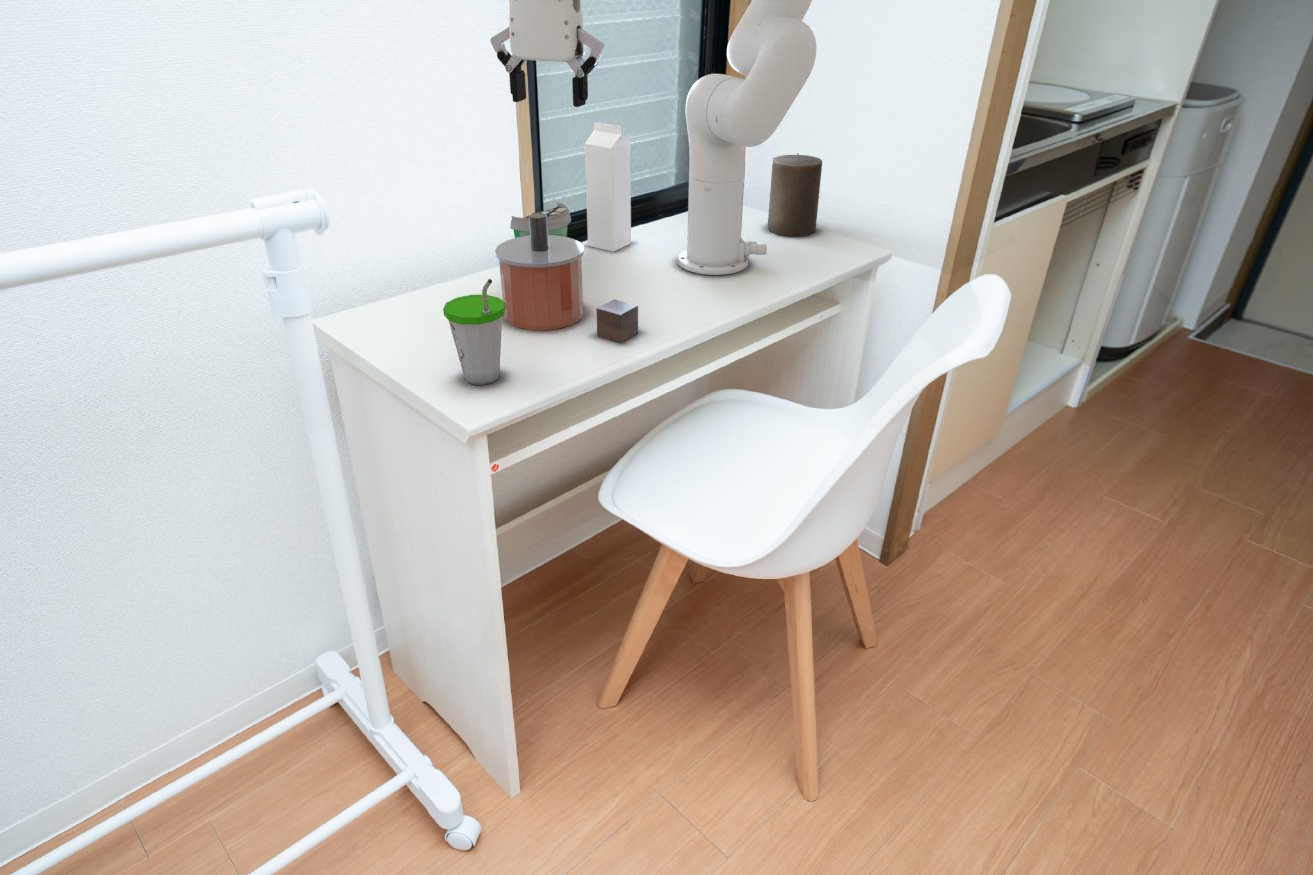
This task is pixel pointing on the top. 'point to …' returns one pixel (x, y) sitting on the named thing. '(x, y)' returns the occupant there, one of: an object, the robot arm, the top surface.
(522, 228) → the food container
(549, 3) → the robot arm
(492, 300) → the cup
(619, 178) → the milk
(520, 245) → the lid
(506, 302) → the canister
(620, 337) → the block
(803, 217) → the pillar candle
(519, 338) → the top surface
